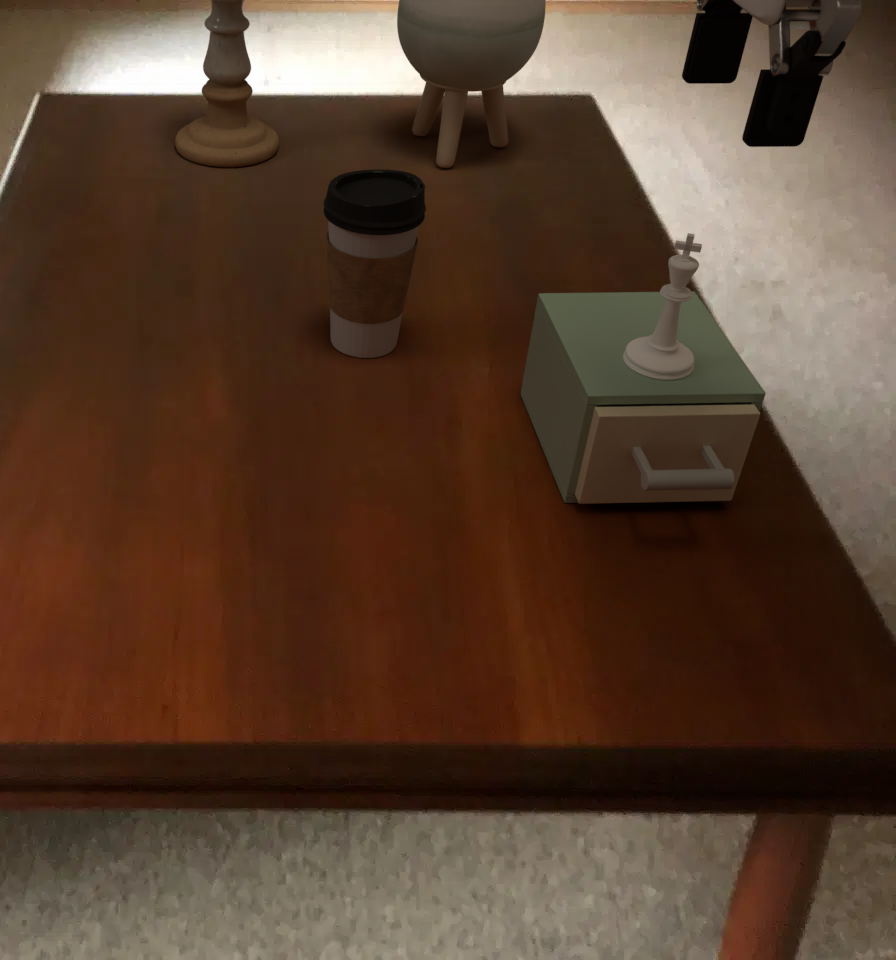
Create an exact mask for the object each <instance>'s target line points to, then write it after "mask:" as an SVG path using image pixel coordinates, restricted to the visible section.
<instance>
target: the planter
mask: <svg viewBox="0 0 896 960" xmlns="http://www.w3.org/2000/svg"><path fill="white" fill-rule="evenodd" d="M546 2H547V1H546V0H398V5H397V15H396V16H397V17H396V27H397V35H398V41H399V44H400V47H401V49H402V51H403V53H404V56H405V57H406V59H407V61H408V62H409V64H410V66H412V68H413V69H414V71H416V72H417V73H418V74H419V76H420V78H421V79H422V81H424V82H425V84H424V87H423V91H422V94H421V95H422V96H421V98H420V102H419V104H418V108H417V111H416V113H415V117H414V120H413V123H412V127H411V131H412V134H413V135H414V136H416V137H425V136H427V135H428V134H429V133H430V131H431V128H432V126H433V123H434V121H435V118H436V115H437V114H438V111H439V109H440V106H441V104H442V111H441V116H440V117H441V118H440V125H439V134H438V142H437V147H436V158H435V163H436V165H437V166H438V167H440V168H441V169H449V168H452V167H453V166H454V164H455V161H456V157H457V153H458V146H459V142H460V136H461V131H462V127H463V123H464V122H463V121H464V117H465V112H466V106H467V101H468V95H469V93H470V92H473V93H474V92H481V98H482V105H483V109H484V115H485V121H486V126H487V132H488V136H489V142H490V144H491V146H493V147H494V148H498V149H500V148H504V147H506V146H507V145H508V143H509V135H508V133H509V132H508V124H507V123H508V122H507V115H506V114H507V113H506V104H505V103H506V102H505V92H504V85H505V84H506V82H507V81H508V80H510V79H511V78H513V77H514V76H515V75H517V73H519V72H520V71H521V70H522V69H523V68H524V67H525V65H526V64H527V63H528V62H529V61H530V59H531V58H532V56H533V55H534V53H535V52H536V50H537V48H538V45H539V44H540V41H541V38H542V35H543V29H544V25H545V20H546V19H545V17H546V6H547V5H546V4H547V3H546Z"/></svg>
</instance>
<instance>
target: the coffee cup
mask: <svg viewBox="0 0 896 960" xmlns="http://www.w3.org/2000/svg"><path fill="white" fill-rule="evenodd" d="M425 191H426V185H425V182H424V181H423V180H422V179H421V178H420V177H419V176H417V175H416V174H414V173H411V172H408V171H404V170H396V169H362V170H361V169H360V170H354V171H348V172H345V173H341V174H338V175H337V176H335V177H333V178H332V179H331V180H330V181H329V184H328V187H327V191H326V194H325V195H326V196H325V198H324V200H323V215H324V217H325V219H326V220H327V222H328V230H327V232H326V257H327V259H326V260H327V280H328V281H327V282H328V300H329V302H328V303H329V322H330V323H329V324H330V325H329V327H330V342H331V345H332V346H333V347H334V349H336V350H337V351H338V352H339V353H342V354H344V355H347V356H348V357H349V356H350V357H353V358H359V359H374V358H380V357H383V356H386V355H388V354H390V353H391V352H393V351H394V349H395V348H396V346H397V344H398V339H399V333H400V328H401V323H402V317H403V312H404V309H405V304H406V301H407V295H408V291H409V286H410V281H411V276H412V273H413V268H414V266H413V265H414V263H415V258H416V254H417V248H418V243H419V238H418V230H419V226H421V225H422V223H423V222H424V220H425V218H426V211H427V206H426V203H425V202H426V201H425V200H426V199H425V198H426V197H425V196H426V195H425Z"/></svg>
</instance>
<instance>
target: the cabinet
mask: <svg viewBox="0 0 896 960" xmlns="http://www.w3.org/2000/svg"><path fill="white" fill-rule="evenodd" d="M690 291H691V295H692V297H691V299H690V300H688V301H685V302H681V305H680V311H679V319H678V327H677V337H676V339H677V340H678V341H679V343H681V344H683V345H685V346H686V347H687V348H688V349H689V350H690V351H691V352H692V353H693V356H694V364H693V365H694V368H693V371H692V372H691V373H690V374H689V375H688V376H686V377H683V378H680V379H675V380H660V379H654V378H650V377H646V376H644V375H641V374H639V373H637V372H635V371H633V370H632V369H631V368H629V367H628V366H627V365H626V363H625V362H624V359H623V354H624V352H625V350H626V347H627V345H628V344H629V343H630V342H631V341H632V340H634V339H637V338H640V337H645V336H650V335H652V334H653V333H654V330H655V328H656V326H657V323H658V321H659V318H660V316H661V313H662V311H663V308H664V306H665V303H666V300H667V299H666V298H664V297H662V296H661V294H660V291H633V292H632V291H625V292H624V291H622V292H620V291H618V292H616V291H615V292H611V291H609V292H539V293H538V294H537V300H536V306H535V312H534V315H533V316H534V317H533V322H532V328H531V333H530V339H529V344H528V350H527V355H526V361H525V365H524V366H525V367H524V370H523V371H524V372H523V377H522V384H521V389H520V397H521V399H522V401H523V404H524V407H525V409H526V411H527V414H528V417H529V419H530V421H531V424H532V426H533V428H534V431H535V434H536V437H537V439H538V441H539V444H540V446H541V448H542V451H543V454H544V456H545V459H546V461H547V463H548V466H549V468H550V471H551V473H552V476H553V479H554V480H555V483H556V484H557V488H558V490H559V493H560V496H561V498H562V500H563V502H564V504H579V503H578V500H577V498H576V496H575V491H576V487H577V482H578V478H579V473H580V469H581V465H582V460H583V456H584V452H585V447H586V443H587V439H588V434H589V430H590V426H591V421H592V417H593V413H594V408H595V407H597V405H616V404H677V403H734V405H744V404H754V405H755V406H756V408H757V409H758V411H759V412H760V413H761V409H762V405H763V403H764V400H765V397H766V395H767V394H766V391H765V390H764V388H763V387H762V386H761V384H760V382H759V381H758V380H757V378H756V377H755V376H754V374H753V372H752V371H751V370H750V368H749V367H748V365H747V364H746V362H744V360H743V358H742V357H741V356H740V354H739V352H738V351H737V350H736V348H735V347H734V345H733V344H732V343H731V340H729V339H728V337H727V335H726V334H725V333H724V331H723V330H722V329H721V327H720V326H719V324H718V323H717V322H716V320H715V318H714V317H713V316H712V314H711V313H710V311H709V310H708V308H707V307H706V306H705V304H704V303H703V301H702V299H701V298H700V297H699V295H698V294H697V293H696V291H692V290H690Z"/></svg>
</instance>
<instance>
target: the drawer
mask: <svg viewBox="0 0 896 960" xmlns="http://www.w3.org/2000/svg"><path fill="white" fill-rule="evenodd" d="M760 417H761V411H760V412H759V411H758V409H757V408H756V406H755V405H754V404H744V405H734V403H677V404H616V405H597V407H595V408H594V413H593V417H592V421H591V426H590V430H589V434H588V439H587V443H586V447H585V452H584V456H583V460H582V465H581V469H580V473H579V478H578V482H577V487H576V491H575V496H576V498H577V500H578V503H577V504H580V505H583V504H584V505H586V504H589V505H590V504H591V505H593V504H634V503H635V504H637V503H640V504H641V503H682V502H683V503H684V502H690V503H691V502H730V501H732V500H733V497H734V494H735V492H736V489H737V485H738V482H739V479H740V476H741V473H742V470H743V467H744V465H745V461H746V459H747V456H748V453H749V449H750V446H751V442H752V441H753V437H754V434H755V431H756V429H757V426H758V423H759V420H760Z"/></svg>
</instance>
